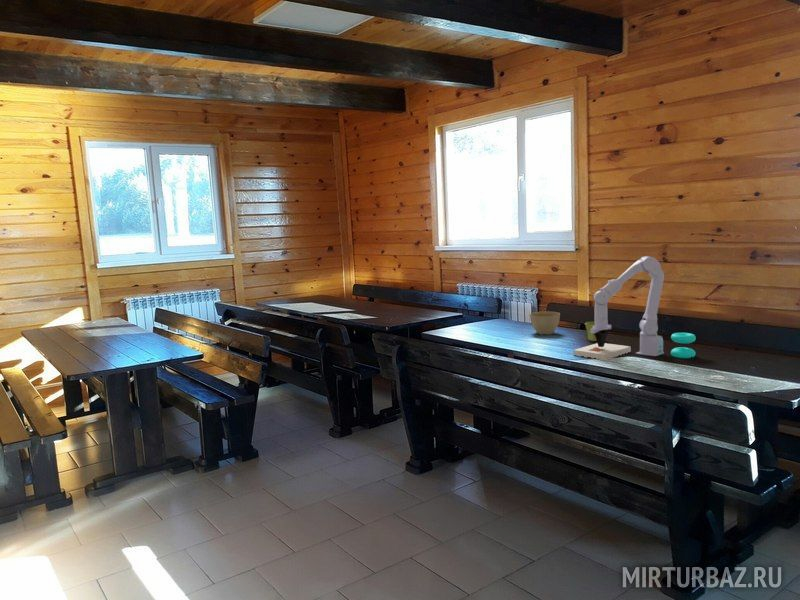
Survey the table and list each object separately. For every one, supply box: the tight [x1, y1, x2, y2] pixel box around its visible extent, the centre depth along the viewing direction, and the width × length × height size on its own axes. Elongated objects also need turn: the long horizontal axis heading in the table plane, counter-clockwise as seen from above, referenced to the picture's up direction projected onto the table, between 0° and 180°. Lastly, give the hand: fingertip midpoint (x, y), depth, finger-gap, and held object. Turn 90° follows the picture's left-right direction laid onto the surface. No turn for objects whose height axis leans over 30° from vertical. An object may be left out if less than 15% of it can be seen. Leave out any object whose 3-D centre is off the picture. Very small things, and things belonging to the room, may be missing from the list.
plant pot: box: [584, 321, 597, 342], centre depth 322 cm, size 9×9×9 cm
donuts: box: [670, 332, 697, 359], centre depth 278 cm, size 10×10×10 cm
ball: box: [592, 347, 601, 352], centre depth 286 cm, size 4×4×4 cm
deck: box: [573, 342, 632, 361], centre depth 290 cm, size 16×22×2 cm
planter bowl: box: [529, 311, 561, 335], centre depth 345 cm, size 16×16×11 cm
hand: (601, 346), depth 289 cm, fingers closed
